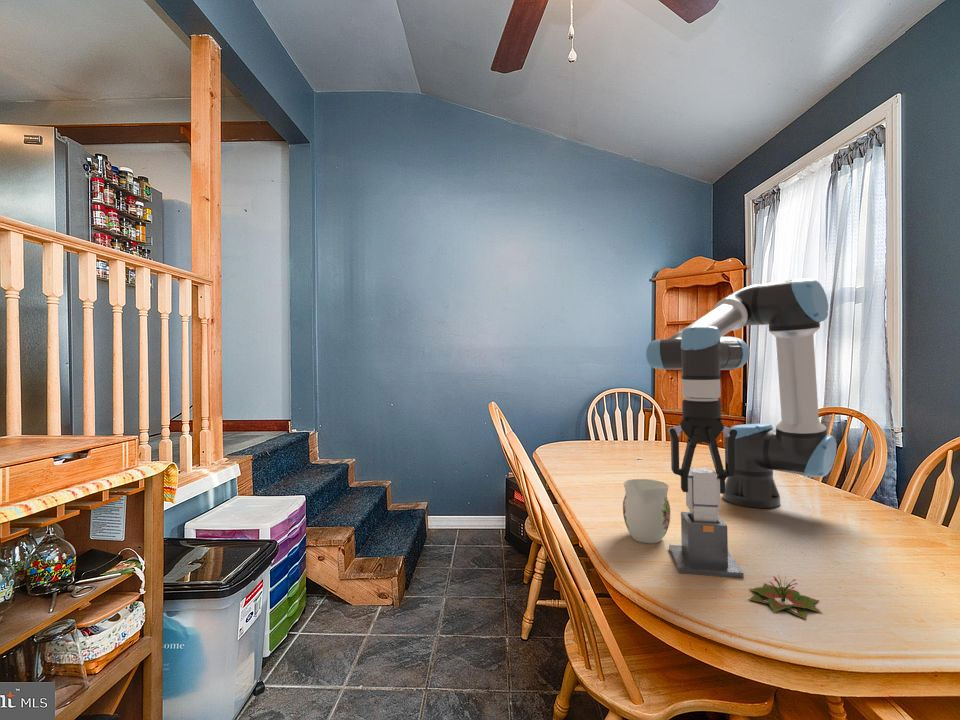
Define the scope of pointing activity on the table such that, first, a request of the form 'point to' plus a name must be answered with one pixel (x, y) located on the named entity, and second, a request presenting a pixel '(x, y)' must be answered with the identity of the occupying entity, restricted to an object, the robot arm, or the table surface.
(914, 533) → the table surface
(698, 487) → the column
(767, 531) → the table surface
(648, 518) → the pitcher
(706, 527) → the stand
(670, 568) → the table surface
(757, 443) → the robot arm
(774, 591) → the lily flower
